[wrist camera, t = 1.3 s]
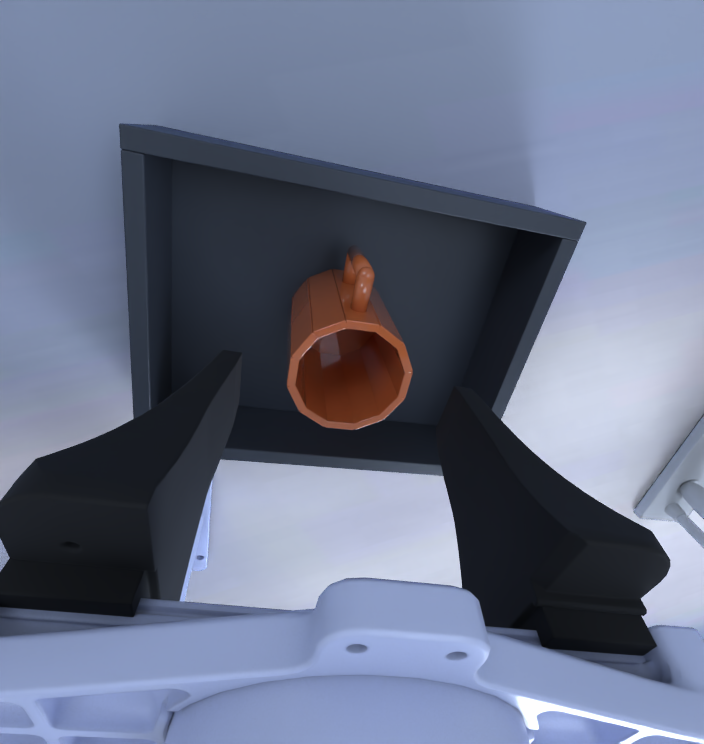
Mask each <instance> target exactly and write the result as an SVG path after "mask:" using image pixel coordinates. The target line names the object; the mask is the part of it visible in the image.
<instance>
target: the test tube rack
mask: <svg viewBox="0 0 704 744" xmlns="http://www.w3.org/2000/svg"><path fill="white" fill-rule="evenodd" d="M693 510H695V511H696V512H697V513H698V514H699V515H700V516H701V517H702V518H703V519H704V416H703V417H702V418H701V420H700V421H699V422H698V424H697V425H696V426H695V428H694V429H693V431H692V432H691V433H690V435H689V436H688V437H687V439H686V440H685V441H684V443H683V444H682V446H681V447H680V448H679V450H678V451H677V452H676V454H675V455H674V456H673V458H672V459H671V461H670V462H669V463H668V465H667V466H666V467H665V469H664V470H663V471H662V473H661V474H660V475H659V477H658V478H657V480H656V481H655V482H654V484H653V485H652V486H651V488H650V489H649V490H648V492H647V493H646V495H645V496H644V497H643V499H642V500H641V501H640V503H639V504H638V505H637V507H636V508H635V510H634V513H635V514H636V515H637V516H638V517H639V518H640V519H651V520H662V521H673V522H678V523H679V524H680V525H681V526H682V527H683V528H684V529H685V530H686V531H687V532H688V533H689V534H690V535H691V536H692V537H693V538H694V539H695V540H696V541H697V542H698V543H699V544H700V545H701V546H702V547H703V548H704V532H703V531H702V530H701V529H700V528H699V527H698V526H697V525H696V524H695V523H694V522H693V521H692V520H690V519H689V518H688V516H689V515H690V514H691V513H692V511H693Z"/></svg>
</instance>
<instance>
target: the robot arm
mask: <svg viewBox="0 0 704 744" xmlns="http://www.w3.org/2000/svg"><path fill="white" fill-rule="evenodd" d="M241 366H242V352H235V351H229V350H222V351H220V352H219V353H218V354H217V355H216V356H215V357H214V358H213V359H212V360H211V361H210V362H209V363H208V364H207V365H206V366H205V367H204V368H203V369H202V370H201V371H200V372H198V373H197V374H196V375H195V376H194V377H193V378H192V379H190V380H189V381H188V382H187V383H186V384H185V385H183V386H182V387H181V388H179V389H178V390H177V391H176V392H174V393H173V394H172V395H170V396H169V397H168V398H166V399H165V400H164V401H162V402H161V403H159V404H158V405H156V406H155V407H153V408H152V409H150V410H148V411H147V412H145V413H144V414H142V415H140V416H138V417H137V418H135V419H133V420H131V421H129V422H127V423H125V424H123V425H121V426H119V427H118V428H116V429H114V430H111V431H109V432H107V433H105V434H103V435H100V436H98V437H96V438H93V439H91V440H88V441H86V442H83V443H81V444H78V445H76V446H73V447H70V448H67V449H64V450H61V451H58V452H55V453H52V454H49V455H46V456H43V457H40V458H37V459H35V461H34V462H33V463H32V464H31V465H30V466H29V467H28V468H27V469H26V470H25V471H24V472H23V473H22V474H21V476H20V477H19V478H18V479H17V480H16V482H15V483H14V484H13V485H12V487H11V488H10V489H9V491H8V492H7V493H6V494H5V496H4V497H3V498H2V500H1V501H0V538H1V540H2V543H3V545H4V547H5V549H6V551H7V553H8V555H9V557H10V559H9V560H8V562H7V563H6V565H5V566H4V567H3V569H2V570H1V572H0V744H704V640H703V638H702V637H701V635H700V633H699V632H698V630H697V629H694V628H689V627H678V626H666V625H656V626H652V627H649V628H647V626H646V624H645V622H644V620H643V618H642V617H641V615H642V616H644V615H645V614H646V611H647V610H646V608H645V606H644V604H643V602H642V601H641V598H642V597H643V596H644V595H645V594H647V593H648V592H649V591H650V590H651V589H652V588H654V587H655V586H656V585H657V584H658V583H660V582H661V581H662V580H663V578H664V577H665V576H666V575H667V573H668V571H669V568H670V559H669V557H668V556H667V554H666V553H665V551H664V549H663V548H662V546H661V545H660V543H659V542H658V540H657V539H656V537H655V536H654V534H653V532H652V531H650V530H649V529H647V528H645V527H643V526H641V525H639V524H637V523H635V522H634V521H632V520H630V519H628V518H626V517H624V516H622V515H621V514H619V513H617V512H615V511H613V510H612V509H610V508H609V507H607V506H605V505H604V504H602V503H600V502H599V501H597V500H595V499H594V498H592V497H591V496H589V495H588V494H586V493H585V492H583V491H582V490H580V489H579V488H578V487H576V486H575V485H573V484H572V483H571V482H569V481H568V480H566V479H565V478H564V477H562V476H561V475H560V474H558V473H557V472H556V471H555V470H553V469H552V468H551V467H550V466H549V465H547V464H546V463H545V462H544V461H542V460H541V459H540V458H539V457H538V456H537V455H536V454H534V453H533V452H532V451H531V450H530V449H529V448H528V447H527V446H526V445H525V444H524V443H523V442H522V441H521V440H520V439H519V438H518V437H517V436H516V435H515V434H514V433H513V432H512V431H511V430H510V429H509V428H508V427H507V426H506V425H505V424H504V423H503V422H502V421H501V420H500V419H499V418H498V417H497V415H496V414H495V413H494V412H493V411H492V410H491V409H490V408H489V407H488V406H487V404H486V403H485V402H484V401H483V400H482V399H481V398H480V397H479V396H478V395H477V394H476V393H475V392H474V391H473V390H472V389H471V388H465V387H459V386H454V388H453V390H452V392H451V395H450V397H449V399H448V402H447V404H446V406H445V409H444V411H443V413H442V415H441V418H440V420H439V422H438V425H437V427H436V438H437V448H438V456H439V460H440V464H441V468H442V472H443V476H444V480H445V484H446V488H447V492H448V496H449V500H450V504H451V508H452V512H453V517H454V522H455V528H456V535H457V543H458V550H459V559H460V568H461V578H462V588H458V587H455V586H450V585H440V584H429V583H418V582H407V581H397V580H386V579H375V578H346V579H344V580H341V581H338V582H336V583H333V584H331V585H329V586H328V587H327V588H326V589H325V590H324V592H323V593H322V594H321V595H320V596H319V598H318V601H317V605H316V608H315V609H306V610H294V611H292V610H280V609H267V608H255V607H243V606H231V605H218V604H206V603H194V602H184V600H185V596H186V592H187V588H188V583H189V579H190V575H191V571H202V570H204V569H206V567H207V562H208V546H209V529H210V512H211V496H212V479H213V476H214V474H215V471H216V469H217V466H218V464H219V461H220V459H221V456H222V453H223V451H224V448H225V446H226V443H227V441H228V438H229V435H230V433H231V430H232V428H233V424H234V420H235V416H236V412H237V408H238V404H239V397H240V382H241Z"/></svg>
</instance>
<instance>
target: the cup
mask: <svg viewBox="0 0 704 744" xmlns="http://www.w3.org/2000/svg"><path fill="white" fill-rule="evenodd" d="M374 278H375V273H374V271H373V269H372V267H371V265H370V264H369V262H368V260H367V258H366V257H365V255H364V253H363V251H362V249H361V248H360V247H359V246H357V245H353V246H351V247H349V249H348V251H347V256H346V261H345V267H344V271H343V270H337V269H330V270H327V271H324V272H322V273H319V274H316V275H314V276H311V277H309V279H308V278H307V279H306V281H305V282H304V283H303V284H302V285H301V287H300V288H299V289H298V290H297V291H296V293H295V294H294V295H293V297H292V300H291V308H290V315H289V331H288V359H287V388H288V390H289V392H290V394H291V396H292V398H293V400H294V402H295V404H296V406H297V408H298V410H299V411H300V412H301V413H302V414H304V415H305V416H307V417H309V418H310V419H312V420H313V421H315V422H316V423H318V424H320V425H321V426H323V427H324V426H325V427H327V428H338V429H349V430H354V429H355V430H356V429H359V428H362V427H365V426H368V425H371V424H373V423H376V422H379V421H382V420H383V419H385V418H386V417H387V416H388V415H389V414H390V413H391V412H392V411H393V410H394V409H395V408H396V407H397V406H398V405H399V404H400V403H402V402H403V401H404V399H405V397H406V394H407V390H408V387H409V384H410V380H411V377H412V374H413V372H412V371H413V369H412V366H411V363H410V360H409V356H408V353H407V350H406V346H405V344H404V342H403V340H402V338H401V336H400V334H399V332H398V330H397V329H396V327H395V325H394V323H393V321H392V319H391V317H390V315H389V313H388V311H387V309H386V307H385V305H384V303H383V301H382V299H381V297H380V296H379V294H378V292H377V290H376V288H375V287H374V286H373V282H374Z"/></svg>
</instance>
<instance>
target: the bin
mask: <svg viewBox="0 0 704 744" xmlns="http://www.w3.org/2000/svg"><path fill="white" fill-rule="evenodd" d="M119 129H120V148H121V149H122V150H121V165H122V185H123V206H124V227H125V248H126V269H127V290H128V311H129V331H130V352H131V373H132V394H133V415H134V419H135V418H137V417H138V416H140V415H142V414H144V413H145V412H147V411H148V410H150V409H152V408H153V407H155V406H156V405H158V404H159V403H161V402H162V401H164V400H165V399H166V398H168V397H169V396H170V395H172V394H173V393H174V392H176V391H177V390H178V389H179V388H181V387H182V386H183V385H185V384H186V383H187V382H188V381H189V380H190V379H192V378H193V377H194V376H195V375H196V374H197V373H198V372H200V371H201V370H202V369H203V368H204V367H205V366H206V365H207V364H208V363H209V362H210V361H211V360H212V359H213V358H214V357H215V356H216V355H217V354H218V353H219V352H220V351H222V350H229V351H235V352H242V366H241V382H240V397H239V404H238V408H237V412H236V416H235V420H234V424H233V428H232V430H231V433H230V435H229V438H228V441H227V443H226V446H225V448H224V451H223V453H222V456H221V459H224V460H238V461H251V462H264V463H278V464H291V465H305V466H318V467H332V468H345V469H358V470H372V471H385V472H399V473H412V474H426V475H439V476H443V472H442V468H441V464H440V460H439V456H438V448H437V438H436V427H437V425H438V422H439V420H440V418H441V415H442V413H443V411H444V409H445V406H446V404H447V402H448V399H449V397H450V395H451V392H452V390H453V388H454V386H459V387H465V388H471V389H472V390H473V391H474V392H475V393H476V394H477V395H478V396H479V397H480V398H481V399H482V400H483V401H484V402H485V403H486V404H487V406H488V407H489V408H490V409H491V410H492V411H493V412H494V413H495V414H496V415H497V417H498V418H499V419H500V420H501V418H502V416H503V414H504V411H505V409H506V407H507V404H508V402H509V400H510V398H511V395H512V393H513V391H514V388H515V386H516V384H517V381H518V379H519V377H520V374H521V372H522V370H523V368H524V365H525V363H526V361H527V358H528V356H529V354H530V351H531V349H532V347H533V345H534V342H535V340H536V338H537V335H538V333H539V331H540V328H541V326H542V324H543V321H544V319H545V317H546V315H547V312H548V310H549V308H550V305H551V303H552V301H553V298H554V296H555V294H556V292H557V289H558V287H559V285H560V282H561V280H562V278H563V275H564V273H565V271H566V268H567V266H568V264H569V262H570V259H571V257H572V255H573V252H574V250H575V248H576V245H577V243H578V241H579V239H580V236H581V234H582V232H583V230H584V227H585V225H586V222H584V221H580V220H577V219H574V218H571V217H567V216H564V215H561V214H558V213H554V212H551V211H548V210H545V209H542V208H538V207H535V206H530V205H525V204H521V203H516V202H511V201H507V200H502V199H497V198H493V197H488V196H483V195H479V194H474V193H469V192H465V191H460V190H455V189H451V188H446V187H441V186H437V185H432V184H427V183H423V182H418V181H413V180H409V179H404V178H399V177H395V176H390V175H385V174H381V173H376V172H371V171H367V170H362V169H357V168H353V167H348V166H343V165H339V164H334V163H329V162H325V161H320V160H315V159H311V158H306V157H301V156H297V155H292V154H287V153H283V152H278V151H273V150H269V149H264V148H259V147H255V146H250V145H245V144H241V143H236V142H231V141H227V140H222V139H217V138H213V137H208V136H203V135H199V134H194V133H189V132H185V131H180V130H175V129H171V128H166V127H161V126H157V125H138V124H119ZM353 245H357V246H359V247H360V248H361V249H362V251H363V253H364V255H365V257H366V258H367V260H368V262H369V264H370V265H371V267H372V269H373V271H374V273H375V278H374V282H373V286H374V287H375V288H376V290H377V292H378V294H379V296H380V297H381V299H382V301H383V303H384V305H385V307H386V309H387V311H388V313H389V315H390V317H391V319H392V321H393V323H394V325H395V327H396V329H397V330H398V332H399V334H400V336H401V338H402V340H403V342H404V344H405V346H406V350H407V353H408V356H409V360H410V363H411V366H412V369H413V371H412V372H413V374H412V377H411V380H410V384H409V387H408V390H407V394H406V397H405V399H404V401H403V402H402V403H400V404H399V405H398V406H397V407H396V408H395V409H394V410H393V411H392V412H391V413H390V414H389V415H388V416H387V417H386V418H385V419H383V420H382V421H379V422H376V423H373V424H371V425H368V426H365V427H362V428H359V429H356V430H355V429H354V430H349V429H338V428H327V427H325V426H324V427H323V426H321V425H320V424H318V423H316V422H315V421H313V420H312V419H310V418H309V417H307V416H305V415H304V414H302V413H301V412H300V411H299V410H298V408H297V406H296V404H295V402H294V400H293V398H292V396H291V394H290V392H289V390H288V388H287V359H288V331H289V315H290V308H291V300H292V297H293V295H294V294H295V293H296V291H297V290H298V289H299V288H300V287H301V285H302V284H303V283H304V282H305V281H306V279H307V278H308V279H309V277H311V276H314V275H316V274H319V273H322V272H324V271H327V270H330V269H337V270H343V271H344V267H345V261H346V256H347V251H348V249H349V247H351V246H353Z"/></svg>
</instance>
